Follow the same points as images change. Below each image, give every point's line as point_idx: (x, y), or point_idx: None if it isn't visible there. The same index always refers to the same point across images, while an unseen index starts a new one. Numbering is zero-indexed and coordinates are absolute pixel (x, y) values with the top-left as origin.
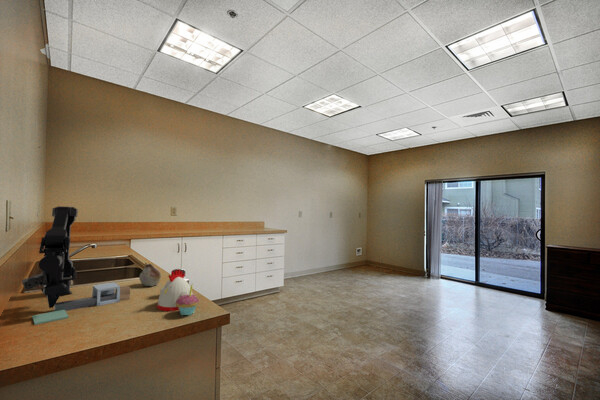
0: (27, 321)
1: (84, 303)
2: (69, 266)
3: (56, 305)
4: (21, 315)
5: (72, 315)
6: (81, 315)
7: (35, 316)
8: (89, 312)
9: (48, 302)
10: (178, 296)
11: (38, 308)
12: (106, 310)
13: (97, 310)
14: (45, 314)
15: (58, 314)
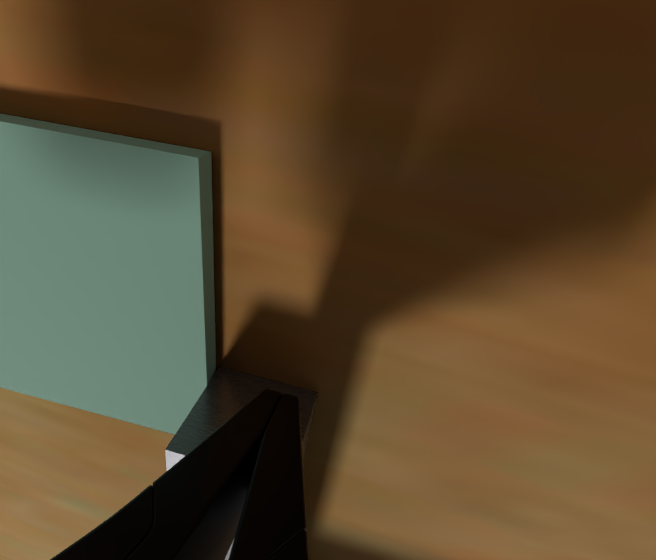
0: (56, 55)
1: None
2: None
3: (172, 450)
4: (474, 54)
5: (37, 405)
6: (3, 432)
7: (128, 177)
8: (52, 483)
9: (194, 450)
10: None
11: (637, 341)
12: (41, 535)
13: (72, 520)
14: (142, 282)
15: (61, 354)
